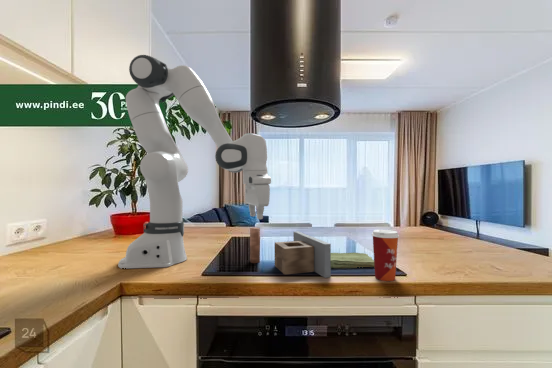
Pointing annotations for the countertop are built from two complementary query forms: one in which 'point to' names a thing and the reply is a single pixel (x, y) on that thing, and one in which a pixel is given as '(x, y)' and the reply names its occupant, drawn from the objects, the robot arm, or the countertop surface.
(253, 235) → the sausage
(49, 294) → the countertop surface
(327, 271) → the wall
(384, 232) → the paper cup
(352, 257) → the washcloth
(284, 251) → the block
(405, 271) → the countertop surface
